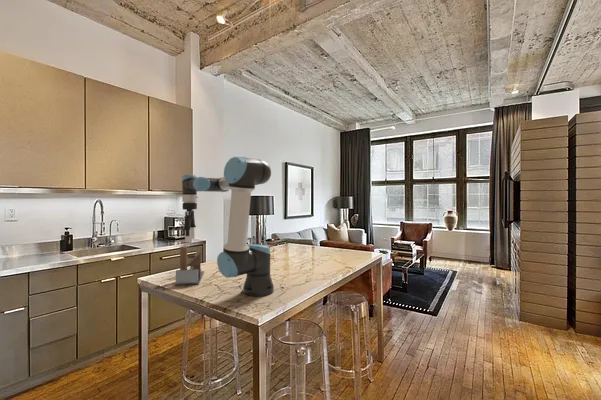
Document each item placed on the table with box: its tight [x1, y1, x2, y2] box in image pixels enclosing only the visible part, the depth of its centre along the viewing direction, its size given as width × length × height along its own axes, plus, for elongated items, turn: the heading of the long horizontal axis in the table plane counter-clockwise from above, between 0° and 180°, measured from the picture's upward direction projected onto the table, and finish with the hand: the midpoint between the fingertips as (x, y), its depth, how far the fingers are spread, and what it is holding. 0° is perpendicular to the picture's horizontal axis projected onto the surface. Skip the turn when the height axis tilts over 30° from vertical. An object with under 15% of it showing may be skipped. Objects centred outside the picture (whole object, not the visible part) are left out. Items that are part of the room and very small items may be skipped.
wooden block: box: [179, 245, 202, 278], centre depth 157 cm, size 4×11×18 cm, turn 114°
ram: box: [187, 254, 197, 269], centre depth 168 cm, size 5×6×10 cm
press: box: [174, 268, 205, 287], centre depth 160 cm, size 24×12×8 cm, turn 12°
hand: (190, 240), depth 157 cm, fingers open, 13 cm apart
